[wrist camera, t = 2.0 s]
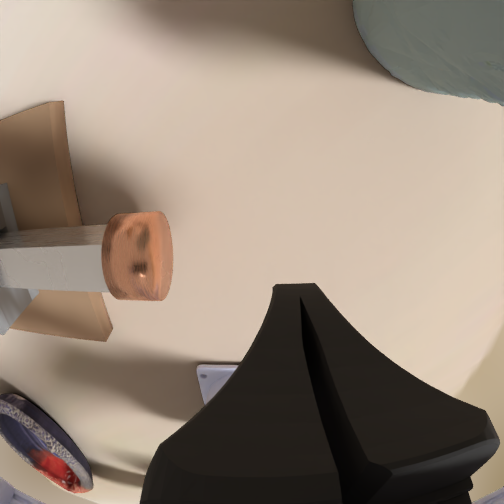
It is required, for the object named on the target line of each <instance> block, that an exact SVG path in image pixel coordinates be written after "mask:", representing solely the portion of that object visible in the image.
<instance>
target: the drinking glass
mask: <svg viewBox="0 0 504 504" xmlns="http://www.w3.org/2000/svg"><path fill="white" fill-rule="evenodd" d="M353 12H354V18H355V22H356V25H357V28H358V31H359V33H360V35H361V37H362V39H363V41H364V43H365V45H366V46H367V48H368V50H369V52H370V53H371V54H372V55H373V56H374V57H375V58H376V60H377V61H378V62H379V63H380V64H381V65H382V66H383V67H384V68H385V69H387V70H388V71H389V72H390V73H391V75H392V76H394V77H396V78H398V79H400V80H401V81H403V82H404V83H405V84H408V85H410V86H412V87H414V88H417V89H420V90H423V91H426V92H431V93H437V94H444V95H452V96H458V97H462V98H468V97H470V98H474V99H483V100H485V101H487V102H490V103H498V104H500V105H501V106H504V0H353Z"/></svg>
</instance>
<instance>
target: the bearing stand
mask: <svg viewBox="0 0 504 504" xmlns="http://www.w3.org/2000/svg"><path fill="white" fill-rule="evenodd" d="M74 226H83V225H82V221H81V216H80V212H79V207H78V202H77V197H76V192H75V186H74V181H73V175H72V169H71V162H70V156H69V148H68V141H67V132H66V123H65V112H64V101H57V102H49V103H46V104H43V105H40V106H37V107H34V108H31V109H28V110H26V111H23V112H20V113H18V114H15V115H13V116H10V117H8V118H5V119H3V120H0V233H2V232H13V231H24V230H36V229H48V228H60V227H74ZM9 328H11V329H17V330H22V331H28V332H34V333H40V334H47V335H54V336H61V337H68V338H76V339H85V340H94V341H103V342H106V341H107V339H108V337H109V335H110V333H111V332H112V330H113V327H112V324H111V321H110V318H109V315H108V313H107V310H106V307H105V304H104V301H103V298H102V294H101V292H84V291H61V290H41V289H25V288H9V287H0V334H1V335H4V334H5V333H6V332H7V330H8V329H9Z"/></svg>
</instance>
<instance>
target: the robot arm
mask: <svg viewBox="0 0 504 504" xmlns="http://www.w3.org/2000/svg"><path fill="white" fill-rule="evenodd" d="M196 372H197V377H198V381H199V385H200V389H201V393H202V397H203V401H204V405H205V406H204V407H203V408H202V409H201V410H200V411H199V412H198V413H197V414H196V415H195V416H194V417H193V418H192V419H190V420H189V421H188V422H187V423H186V424H185V425H183V426H182V427H181V428H180V429H178V430H177V431H176V432H175V433H174V434H172V435H171V436H170V437H169V438H167V439H166V440H165V441H164V442H162V443H161V444H160V445H159V447H158V449H157V451H156V453H155V455H154V457H153V459H152V461H151V463H150V466H149V468H148V471H147V473H146V476H145V479H144V484H143V489H142V494H141V499H140V504H504V486H503V487H502V488H500V489H498V490H496V491H494V492H492V493H490V494H488V495H487V496H484V497H482V498H480V499H478V500H476V501H474V502H471V500H470V496H469V493H468V491H470V490H471V489H472V488H473V483H472V480H471V477H470V476H471V475H472V474H474V473H475V472H476V471H477V470H478V469H479V468H480V467H481V466H483V464H485V463H486V462H487V461H488V460H489V459H490V458H491V457H492V456H493V455H494V454H495V452H496V451H497V449H498V447H499V445H500V440H499V437H498V435H497V433H496V431H495V429H494V426H493V424H492V422H491V420H490V418H489V416H488V414H487V413H486V411H485V410H483V409H480V408H478V407H475V406H473V405H470V404H468V403H466V402H463V401H461V400H458V399H456V398H453V397H451V396H449V395H447V394H445V393H443V392H441V391H440V390H438V389H436V388H434V387H432V386H430V385H428V384H427V383H425V382H423V381H421V380H420V379H418V378H416V377H415V376H413V375H412V374H410V373H409V372H407V371H406V370H404V369H403V368H401V367H400V366H398V365H397V364H396V363H394V362H393V361H391V360H390V359H389V358H388V357H386V356H385V355H384V354H383V353H381V352H380V351H379V350H377V349H376V348H375V347H374V346H373V345H372V344H370V343H369V342H368V341H367V340H366V339H365V338H364V337H363V336H362V335H361V334H360V333H359V332H358V331H357V330H356V329H355V328H354V327H353V326H352V325H351V324H350V323H349V322H348V321H347V320H346V319H345V318H344V317H343V315H342V314H341V313H340V312H339V311H338V310H337V309H336V308H335V306H334V305H333V304H332V303H331V302H330V301H329V299H328V298H327V297H326V296H325V294H324V293H323V292H322V291H321V289H320V288H319V287H318V286H317V285H316V284H315V283H303V284H276V285H275V286H274V287H273V293H272V298H271V302H270V305H269V308H268V311H267V314H266V316H265V319H264V321H263V323H262V326H261V328H260V330H259V332H258V334H257V336H256V338H255V339H254V341H253V343H252V345H251V347H250V349H249V350H248V352H247V354H246V355H245V357H244V358H243V360H242V361H241V363H240V364H239V365H206V364H202V365H198V366H197V369H196ZM203 374H205V375H203ZM0 504H45V503H43V502H41V501H39V500H37V499H34V498H33V497H30V496H28V495H26V494H24V493H23V492H21V491H19V490H17V489H15V488H14V487H13V486H12V485H11V484H9V483H8V482H7V481H6V480H4V479H3V478H1V477H0Z"/></svg>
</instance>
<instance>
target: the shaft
mask: <svg viewBox="0 0 504 504" xmlns="http://www.w3.org/2000/svg"><path fill="white" fill-rule="evenodd" d="M172 271H173V246H172V237H171V232H170V228H169V224H168V221H167V219H166V217H165V215H164V214H163V213H162V212H160V211H156V212H139V213H124V214H116V215H114V216H113V217H112V218H111V219H110V221H109V222H108V224H104V225H88V226H74V227H60V228H48V229H36V230H24V231H13V232H2V233H0V287H9V288H25V289H41V290H61V291H84V292H110V293H111V294H112V295H113V296H114V297H115V298H116V299H119V300H142V301H162V300H164V299H165V298H166V296H167V294H168V292H169V289H170V285H171V280H172Z"/></svg>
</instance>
